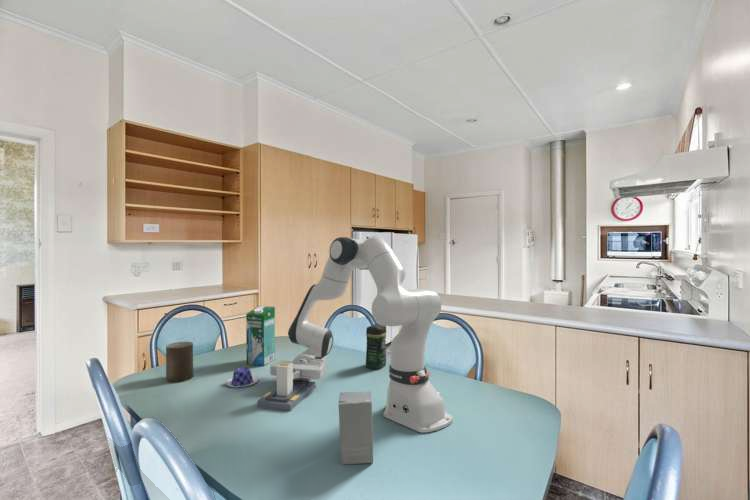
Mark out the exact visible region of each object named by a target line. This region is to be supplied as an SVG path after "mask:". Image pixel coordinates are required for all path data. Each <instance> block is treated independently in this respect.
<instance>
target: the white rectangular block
mask: <svg viewBox="0 0 750 500" xmlns="http://www.w3.org/2000/svg"><path fill="white" fill-rule="evenodd" d="M276 387H277V395H280V396H288V395H289V394H290V393H291V392H292V391H293V363H283V362H282V363H280V364H279V365H278V366H277V376H276Z"/></svg>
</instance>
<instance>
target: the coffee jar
mask: <svg viewBox="0 0 750 500" xmlns="http://www.w3.org/2000/svg"><path fill="white" fill-rule="evenodd" d="M365 332H366V333H365V337H366V350H365V351H366V353H365V354H366V355H365V367H367V368H368V369H371V370H375V369H376V370H377V369H378V370H379V369H381V368H384V367H385V366H386V364H387V354H386V352H387V348H386V347H387V345H386V343H387V340H386V339H387V326H382V325H379V324H378V323H377V322H376V323H374V324H373V325H372V324H371V325H370V326H369V325H368V326H367V327H366V331H365Z"/></svg>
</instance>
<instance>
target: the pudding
mask: <svg viewBox="0 0 750 500" xmlns="http://www.w3.org/2000/svg"><path fill="white" fill-rule="evenodd" d="M258 381H259V378H258V377H257V376H254V375H253V374H252V371H251V369H250V368H249V367H239V368H237V369H235V370H234V372H233V375H232V378H229V379H228V380H227V381H226V382H225V385H226V386H227V387H230V388H243V387H248V386H252V385H254V384H256V383H257V382H258Z"/></svg>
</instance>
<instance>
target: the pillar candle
mask: <svg viewBox="0 0 750 500" xmlns="http://www.w3.org/2000/svg"><path fill="white" fill-rule="evenodd" d="M165 349H166V350H165V357H166V358H165V359H166V360H165V379H166V380H165V381H167V382H168V383H182V382H185V381H189V380H191V379H193V377H194V342H192V341H178V342H172V343H169V344H166V346H165Z"/></svg>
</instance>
